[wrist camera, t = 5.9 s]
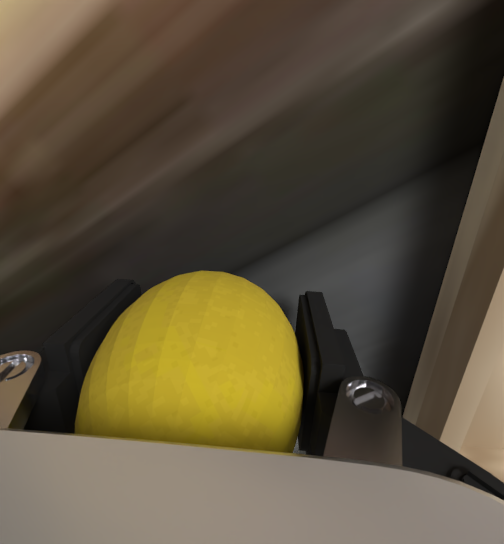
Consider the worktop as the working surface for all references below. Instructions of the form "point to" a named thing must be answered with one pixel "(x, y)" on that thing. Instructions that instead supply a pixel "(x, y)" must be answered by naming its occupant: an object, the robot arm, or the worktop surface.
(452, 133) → the worktop surface
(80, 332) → the robot arm
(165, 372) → the lemon
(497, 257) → the birch tray
